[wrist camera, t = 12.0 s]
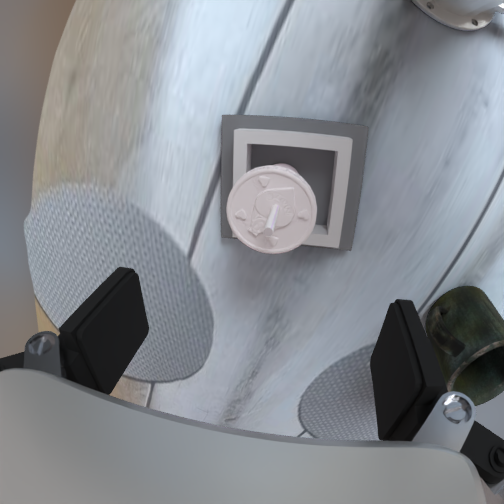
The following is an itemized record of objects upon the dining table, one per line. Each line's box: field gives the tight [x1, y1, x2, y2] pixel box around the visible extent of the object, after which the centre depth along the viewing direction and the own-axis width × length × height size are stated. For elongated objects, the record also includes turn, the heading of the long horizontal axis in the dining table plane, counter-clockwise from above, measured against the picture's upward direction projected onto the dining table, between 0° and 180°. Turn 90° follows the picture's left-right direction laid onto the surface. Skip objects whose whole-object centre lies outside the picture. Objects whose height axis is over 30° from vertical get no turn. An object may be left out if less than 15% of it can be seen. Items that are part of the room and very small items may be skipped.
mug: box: [426, 286, 504, 406], centre depth 28 cm, size 11×15×12 cm
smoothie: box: [226, 163, 317, 254], centre depth 23 cm, size 6×6×14 cm
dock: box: [221, 115, 368, 251], centre depth 29 cm, size 14×13×4 cm
